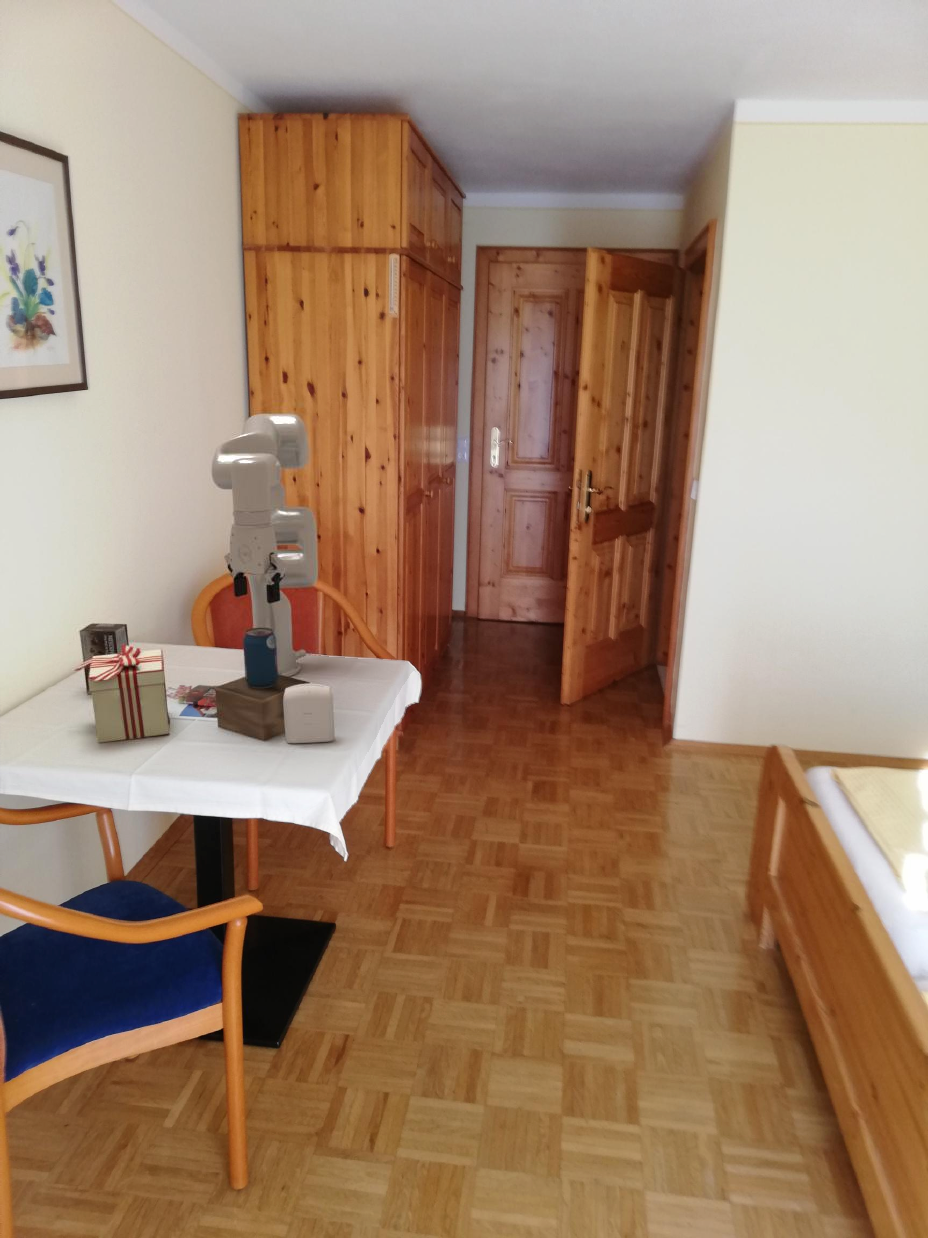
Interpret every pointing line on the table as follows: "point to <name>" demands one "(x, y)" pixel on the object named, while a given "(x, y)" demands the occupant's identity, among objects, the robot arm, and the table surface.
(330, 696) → the photo printer
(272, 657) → the soda can
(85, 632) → the coffee box
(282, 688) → the walnut box
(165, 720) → the gift box
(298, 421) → the robot arm
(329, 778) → the table surface
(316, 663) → the table surface
